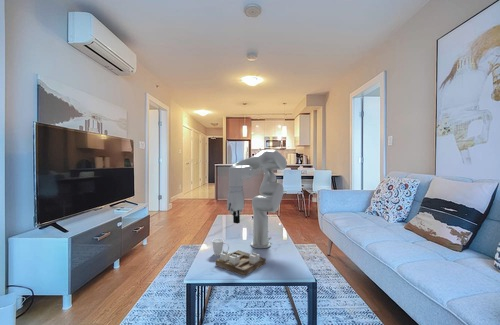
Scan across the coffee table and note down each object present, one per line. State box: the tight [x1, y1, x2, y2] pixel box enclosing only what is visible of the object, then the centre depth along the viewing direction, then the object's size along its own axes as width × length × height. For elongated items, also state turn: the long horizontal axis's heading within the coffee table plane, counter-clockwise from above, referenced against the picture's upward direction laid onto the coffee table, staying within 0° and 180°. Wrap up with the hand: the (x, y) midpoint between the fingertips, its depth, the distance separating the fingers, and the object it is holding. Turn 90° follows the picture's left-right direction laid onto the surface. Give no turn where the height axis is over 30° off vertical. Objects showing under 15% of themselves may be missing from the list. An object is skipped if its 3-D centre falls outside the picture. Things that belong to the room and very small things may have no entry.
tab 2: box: [249, 252, 260, 264], centre depth 128 cm, size 4×4×5 cm
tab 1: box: [219, 250, 231, 262], centre depth 129 cm, size 4×4×5 cm
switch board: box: [215, 250, 267, 277], centre depth 129 cm, size 18×19×3 cm
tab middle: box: [229, 254, 240, 265], centre depth 125 cm, size 4×4×5 cm
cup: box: [211, 238, 230, 257], centre depth 143 cm, size 7×10×8 cm
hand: (236, 222), depth 135 cm, fingers closed
